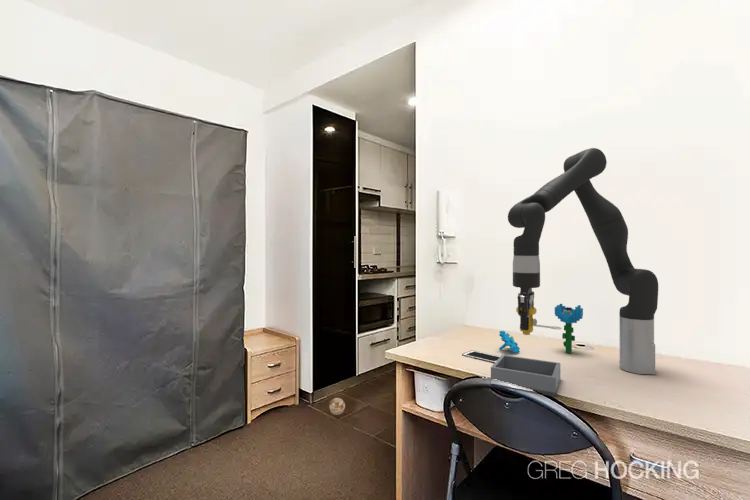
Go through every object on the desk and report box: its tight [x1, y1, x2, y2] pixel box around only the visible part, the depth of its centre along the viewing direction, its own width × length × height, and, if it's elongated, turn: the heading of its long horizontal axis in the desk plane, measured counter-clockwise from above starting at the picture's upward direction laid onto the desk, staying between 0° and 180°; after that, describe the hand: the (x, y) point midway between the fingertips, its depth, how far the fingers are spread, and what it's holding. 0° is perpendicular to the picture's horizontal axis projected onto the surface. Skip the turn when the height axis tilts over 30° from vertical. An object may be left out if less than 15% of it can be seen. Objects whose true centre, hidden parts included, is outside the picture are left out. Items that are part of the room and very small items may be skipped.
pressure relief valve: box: [515, 306, 562, 336], centre depth 105 cm, size 6×12×10 cm, turn 51°
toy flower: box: [554, 303, 584, 354], centre depth 138 cm, size 9×9×18 cm
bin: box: [490, 354, 561, 398], centre depth 107 cm, size 17×15×5 cm
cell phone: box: [461, 349, 501, 364], centre depth 131 cm, size 8×15×1 cm, turn 45°
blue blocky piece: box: [498, 330, 521, 354], centre depth 140 cm, size 11×6×10 cm
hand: (526, 327), depth 107 cm, fingers closed on pressure relief valve, 5 cm apart
